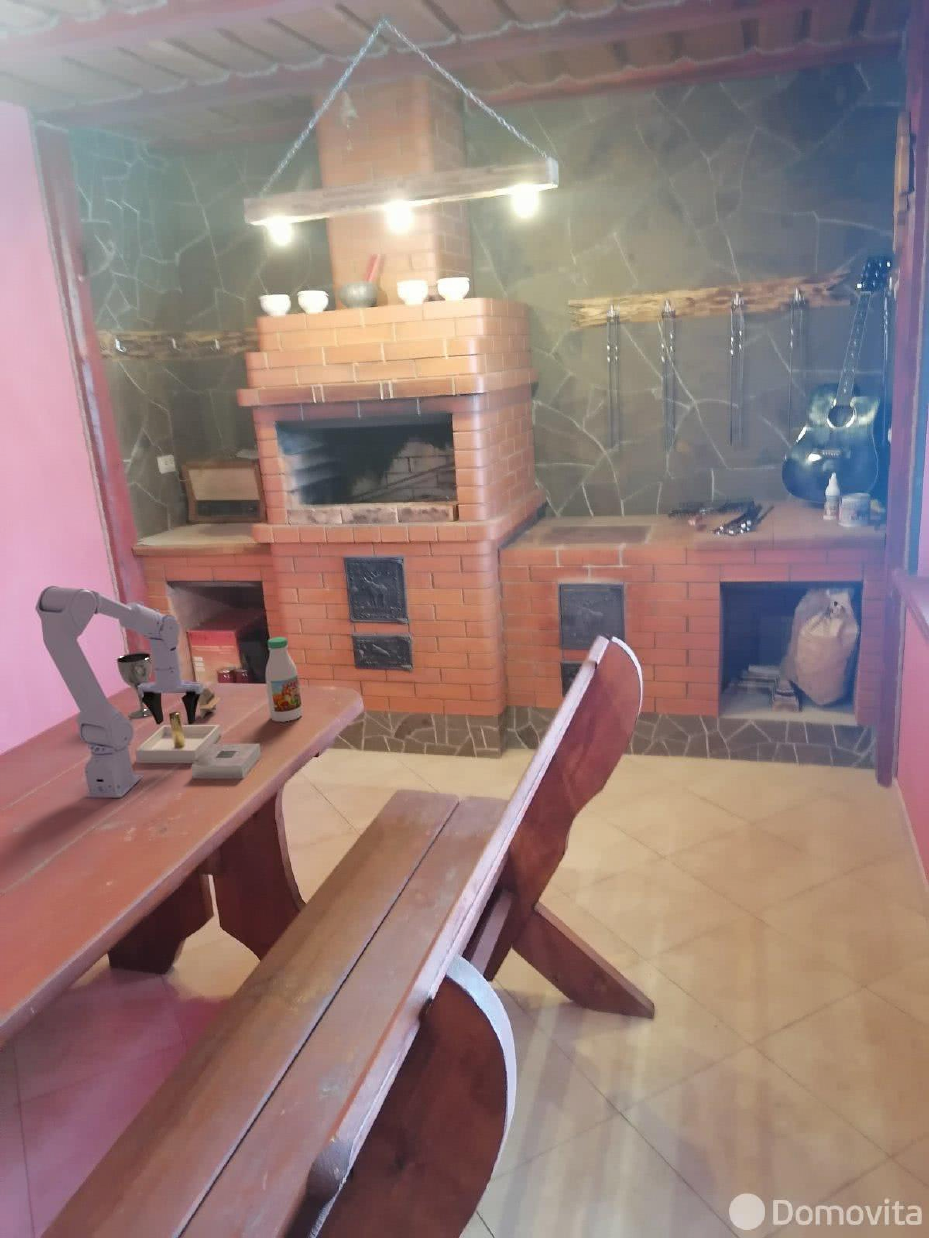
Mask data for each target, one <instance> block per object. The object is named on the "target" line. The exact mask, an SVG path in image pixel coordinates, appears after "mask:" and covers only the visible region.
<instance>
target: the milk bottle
mask: <svg viewBox="0 0 929 1238" xmlns="http://www.w3.org/2000/svg"><path fill="white" fill-rule="evenodd" d="M288 646H289V645H288V639H287V637H285V636H276V637H272V638H269V639H268V640H267V647H268V648H267V649H268V650H269V657H268V660H267V663H266V666H265V667H266V668H265V684H266V691H267V698H268V699H267V701H268V709H269V714H270V718H271V720H272V721H273V722H278V723H286V721H288V722H291V721H290V720H292V721H295V720H297V718H298V719H300V718H301V717H302V715H303V706H302V697H301V690H300V683H299V675H298V670H297V669H298V668H297V666H296V664H295V662H294V660H293V659H292V657H291V655H290V653H289V652H288V651H289V650H288ZM300 716H301V717H300ZM294 719H295V720H294Z"/></svg>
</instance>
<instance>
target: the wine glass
mask: <svg viewBox="0 0 929 1238" xmlns="http://www.w3.org/2000/svg"><path fill="white" fill-rule="evenodd" d="M116 663H117V668H118V672H119V675H120V676H121V679H122V680H123V682H124V683H125V684H127V686H129V687H130V688H131V689H132V690H134V691H135V693H136V695H137V697H138V701H139V705H140V708H139V709H135V710H133V711H131V712H129V713H128V718H130V719H135V720H136V719H144V718H149V717H151V716H152V717H153V715H152V713H151V712H150V710H149V709H148V707H144V705H145V704H144V703H143V702H142V699H141V698H142V697H143V695H144V694H139V693H138V686H139V685H140V684H143V683H149V680H150V678H151V676H152V671H153V669H152V668H153V663H152V657H151V653H149V652H146V651H145V652H143V651H142V652H132V653H127V654H123V655H121V656H119V657H117V659H116Z"/></svg>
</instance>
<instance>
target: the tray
mask: <svg viewBox="0 0 929 1238" xmlns="http://www.w3.org/2000/svg"><path fill="white" fill-rule="evenodd" d="M182 727H183V733H184V740H185V747H183V748H178V749H177V748H175V747H174V741H173V735H172V729H171V724H170V725H168V724H167V725H164V724H163V725H162V726H161V727H160V728H159V729H157V730H156V731H155V732H154V733H153V734H152V735H151V736H149V738H148V739H147V738H146V740H145V741H144V742H143V743H142V744H141V745H139V746H138V747H137V748H136V749H135V750H134V754H135V759H136V763H137V764H193V763H194V762H195V761H196V760H197V759H198V758H199V757H200V756H201V755H202V754H203V753H204V752H205V751H206V750H207V749H208V748H209V747H210V745H211V744H217V742H218V741H219V740H220V739H221V738H222V733H221V726H220V724H182Z"/></svg>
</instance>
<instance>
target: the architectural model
mask: <svg viewBox="0 0 929 1238" xmlns="http://www.w3.org/2000/svg"><path fill="white" fill-rule="evenodd" d="M220 699H221V696H215V691H213V692H212V691H211V690H210V688H208V687H207V684H206V683H204V684H203V691H202V692H201V695H200V697H199V700H198V705H199V707H198V709H199V713H200V718H201V719H202V718H204V716H206V714H207V713H213V712H214V710H216V709H217V705H216V704H217V703H218V702H219V700H220Z"/></svg>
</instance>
